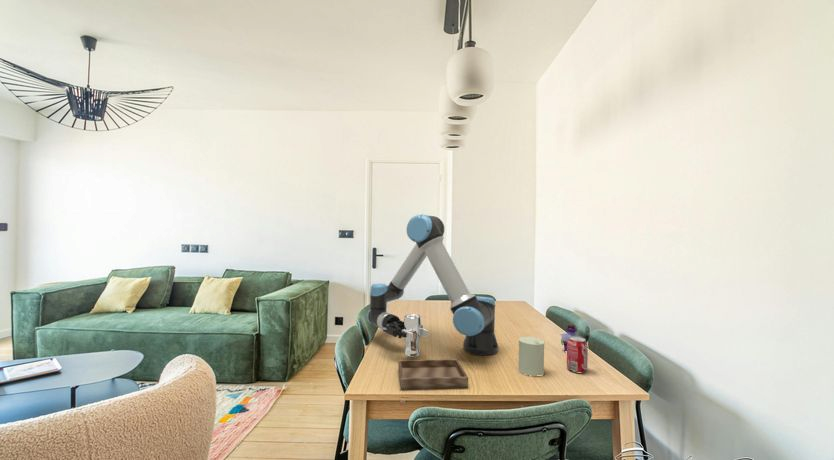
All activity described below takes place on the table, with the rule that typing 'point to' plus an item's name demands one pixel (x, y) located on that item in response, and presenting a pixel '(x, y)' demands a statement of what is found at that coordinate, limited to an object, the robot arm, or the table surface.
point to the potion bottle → (568, 335)
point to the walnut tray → (431, 374)
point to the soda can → (577, 354)
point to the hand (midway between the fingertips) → (420, 335)
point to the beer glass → (413, 326)
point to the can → (531, 356)
